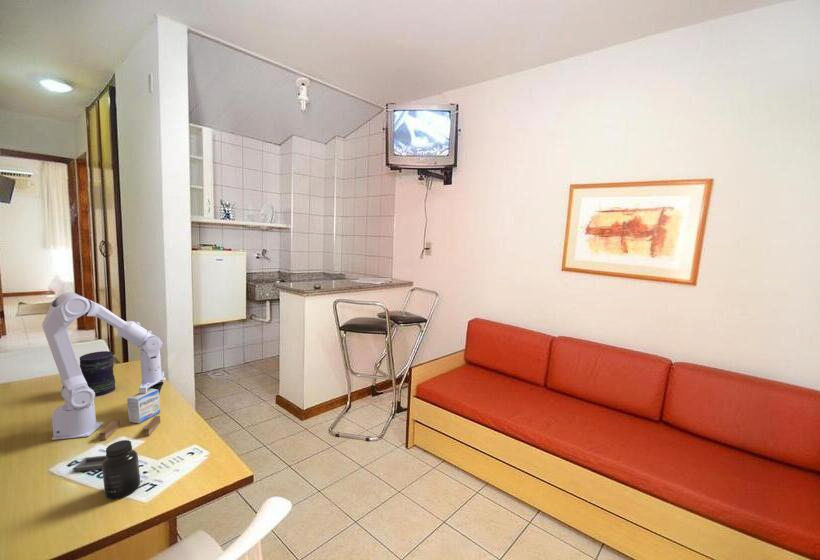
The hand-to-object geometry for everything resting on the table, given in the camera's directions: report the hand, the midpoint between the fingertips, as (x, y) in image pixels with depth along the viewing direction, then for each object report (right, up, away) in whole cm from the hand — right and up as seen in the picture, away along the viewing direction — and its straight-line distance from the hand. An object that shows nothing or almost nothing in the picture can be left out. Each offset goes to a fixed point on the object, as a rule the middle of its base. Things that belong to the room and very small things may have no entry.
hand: (153, 403), depth 127 cm
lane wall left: (-2, -4, -16) cm, 17 cm away
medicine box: (+2, -3, -6) cm, 7 cm away
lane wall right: (+9, -4, -13) cm, 17 cm away
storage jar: (-30, 0, +11) cm, 32 cm away
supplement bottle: (+22, -8, -40) cm, 46 cm away
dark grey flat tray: (+8, -6, -31) cm, 32 cm away
